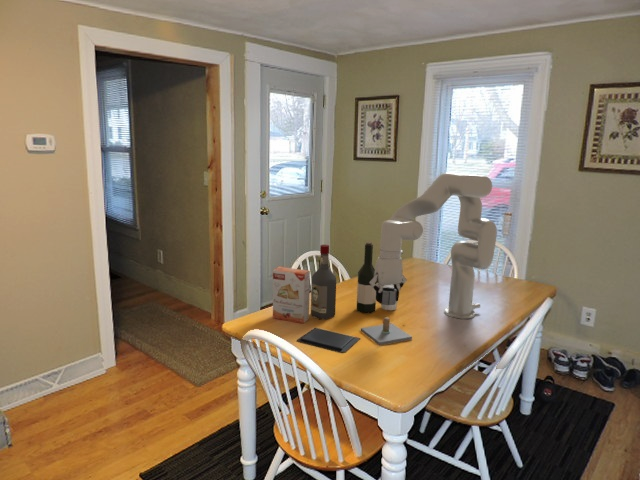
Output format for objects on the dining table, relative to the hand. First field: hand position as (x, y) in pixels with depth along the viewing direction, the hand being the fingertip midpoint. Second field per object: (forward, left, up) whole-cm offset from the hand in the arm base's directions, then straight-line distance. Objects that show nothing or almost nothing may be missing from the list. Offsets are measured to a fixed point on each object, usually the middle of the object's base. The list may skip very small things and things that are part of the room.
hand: (387, 300), depth 177 cm
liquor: (+14, -27, -14) cm, 33 cm away
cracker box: (+28, -28, -14) cm, 42 cm away
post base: (0, 0, -14) cm, 14 cm away
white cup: (-17, -25, -14) cm, 34 cm away
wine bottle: (-6, -26, -14) cm, 30 cm away
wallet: (+22, -4, -15) cm, 27 cm away
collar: (0, 0, -1) cm, 1 cm away
